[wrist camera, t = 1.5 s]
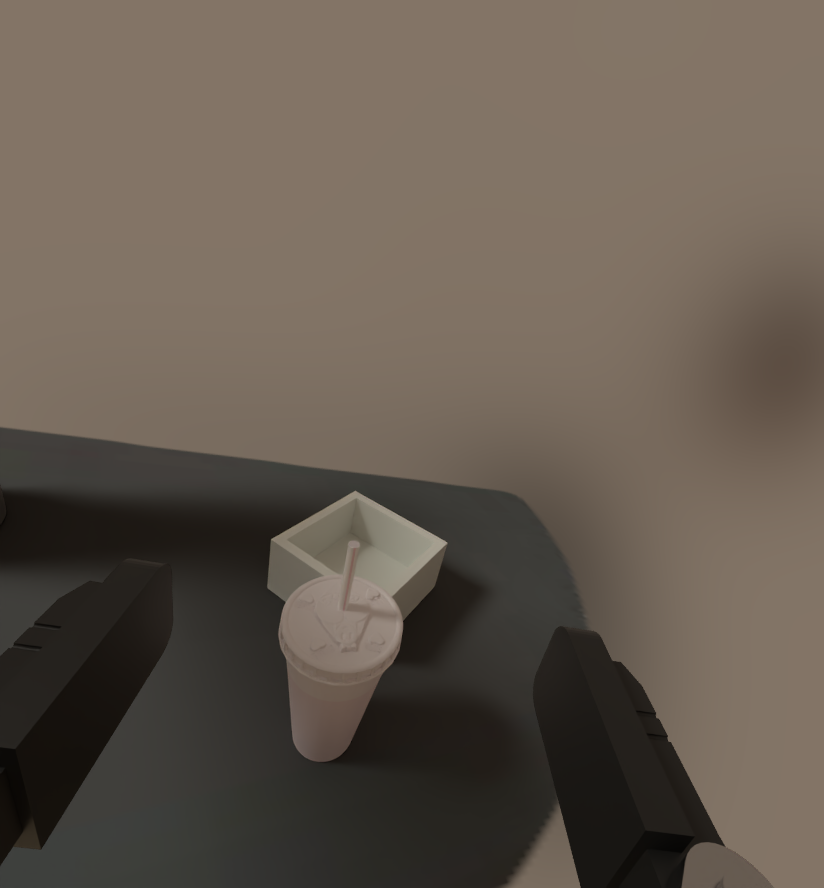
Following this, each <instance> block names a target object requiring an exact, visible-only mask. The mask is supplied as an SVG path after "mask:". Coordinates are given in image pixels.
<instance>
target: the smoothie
mask: <svg viewBox="0 0 824 888" xmlns="http://www.w3.org/2000/svg"><path fill="white" fill-rule="evenodd" d="M359 546H360V544H359V542H357V541H350V542H349V543H348V549H347V555H346V560H345V566H344V572H343V575H342V574H336V575H327V576H323V577H319V578H316V579H313V580H311V581H309V582H307V583H305V584H303V585H302V586H300V587H299V588H298V589H296V590H295V591H294V592H293V593H292V594H291V596H290V597H289V598H288V600H287V601H286V603H285V605H284V608H283V611H282V615H281V620H280V625H279V632H278V636H279V642H280V648H281V650H282V652H283V654H284V656H285V657H286V662H287V672H288V685H289V699H290V712H291V725H292V737H293V742H294V745H295V747H296V749H297V750H298V751H299V752H300V754H301V755H303V756H304V757H305V758H307V759H309V760H312V761H316V762H327V761H331V760H333V759H335V758H337V757H339V756H340V755H341V754H343V753H344V752H345V751H346V749H347V748H348V746H349V745H350V743H351V741H352V738H353V736H354V734H355V732H356V730H357V727H358V725H359V723H360V721H361V719H362V717H363V714H364V712H365V710H366V708H367V706H368V703H369V701H370V699H371V697H372V695H373V692H374V690H375V688H376V686H377V684H378V682H379V679H380V677H381V675H382V673H383V672H384V671H385V670H386V669H387V668H388V667H389V666H390V665H391V664H392V663H393V661H394V660H395V658H396V656H397V654H398V652H399V650H400V644H401V638H402V633H403V619H402V614H401V611H400V609H399V607H398V605H397V603H396V602H395V600H394V599H393V598H392V596H391V595H390V594H389V593H388V592H387V591H385V590H384V589H383V588H382V587H380V586H379V585H377V584H375V583H373V582H371V581H369V580H367V579H364V578H361V577H358V576H354V573H355V568H356V562H357V557H358V552H359Z"/></svg>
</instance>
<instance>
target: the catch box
mask: <svg viewBox="0 0 824 888" xmlns="http://www.w3.org/2000/svg"><path fill="white" fill-rule="evenodd" d="M350 541H357V542H359V544H360V546H359V552H358V557H357V562H356V568H355V573H354V576H358V577H361V578H364V579H367V580H369V581H371V582H373V583H375V584H377V585H379V586H380V587H382V588H383V589H384V590H385V591H387V592H388V593H389V594H390V595H391V596H392V598H393V599H394V600H395V602H396V603H397V605H398V607H399V609H400V611H401V614H402V619H403V620H404V619H405V618H406V617H407V616H408V615H409V614H410V613H411V612H412V611H413V609H414V608H415V607H416V606H417V605H418V604H419V603H420V602H421V601H422V600H423V599H424V598H425V596H426V595H427V594H428V593H429V592H430V591H431V590H432V589H433V588H434V587H435V584H436V580H437V577H438V574H439V570H440V567H441V563H442V560H443V557H444V553H445V550H446V546H447V542H445V541H444V540H442V539H440V538H438V537H436V536H435V535H433V534H431V533H429V532H428V531H426V530H424V529H422V528H420V527H419V526H417V525H415V524H413V523H411V522H410V521H408V520H406V519H404V518H403V517H401V516H399V515H397V514H395V513H394V512H392V511H390V510H388V509H386V508H385V507H383V506H381V505H379V504H378V503H376V502H374V501H372V500H370V499H369V498H367V497H365V496H363V495H361V494H360V493H358V492H356V491H354V492H353V493H351V494H349V495H347V496H346V497H344V498H342V499H341V500H339V501H337V502H335V503H334V504H332V505H330V506H328V507H327V508H325V509H323V510H321V511H320V512H318V513H316V514H314V515H313V516H311V517H309V518H307V519H306V520H304V521H302V522H300V523H299V524H297V525H295V526H293V527H292V528H290V529H288V530H286V531H285V532H283V533H281V534H279V535H278V536H276V537H274V538H272V539H271V546H270V559H269V572H268V585H267V588H268V589H269V590H271V591H272V592H273V593H274V594H276V595H277V596H278V597H280V598H281V599H282V600H284V601H285V602H286V601H287V600H288V598H289V597H290V596H291V594H292V593H293V592H294V591H295V590H296V589H298V588H299V587H300V586H302V585H303V584H305V583H307V582H309V581H311V580H313V579H316V578H319V577H323V576H327V575H336V574H342V575H343V572H344V566H345V560H346V555H347V549H348V543H349V542H350Z"/></svg>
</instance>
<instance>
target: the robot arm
mask: <svg viewBox="0 0 824 888" xmlns="http://www.w3.org/2000/svg"><path fill="white" fill-rule="evenodd" d="M5 517H6V506H5V501H4V497H3V493H2V489H1V485H0V524H1V523H2V522H3V520H4V518H5ZM172 626H173V599H172V571H171V567H170V565H168V564H164V563H157V562H151V561H144V560H138V559H131V558H128V559H126V560H124V561H123V562H121V563H120V564H119V565H118V566H117V568H116V569H115V570H114V571H113V572H112V573H111V574H110V575H109V576H108V577H107V578H106V579H105V580H104V582H103V583H100V582H93V581H89V582H87V583H85V584H83V585H82V586H80V587H78V588H76V589H75V590H73V591H71V592H70V593H68V594H66V595H64V596H63V597H61V598H59V599H58V600H57V601H56V602H55V603H54V604H53V605H52V606H51V607H50V608H49V609H48V610H47V611H46V612H45V613H44V614H43V615H42V616H41V617H40V618H39V619H38V620H37V621H35V622H34V626H33V627H32V628H30V627H29V628H28V629H27V630H26V631H25V632H24V633H23V634H22V635H21V636H20V637H19V638H18V639H17V640H16V641H15V642H14V645H13V647H12V648H11V649H10V648H8V649H7V650H6V651H5V652H4V653H3V654H2V655H1V656H0V865H1V864H2V862H3V861H4V859H5V858H6V856H7V855H8V853H9V852H10V850H11V849H12V847H21V848H30V849H39V850H41V849H42V847H43V846H44V844H45V842H46V841H47V839H48V838H49V836H50V834H51V833H52V831H53V830H54V828H55V826H56V825H57V823H58V822H59V820H60V818H61V817H62V815H63V813H64V812H65V810H66V809H67V807H68V805H69V804H70V802H71V801H72V799H73V797H74V796H75V794H76V793H77V791H78V789H79V788H80V786H81V784H82V783H83V781H84V780H85V778H86V776H87V775H88V773H89V772H90V770H91V768H92V767H93V765H94V764H95V762H96V760H97V759H98V757H99V755H100V754H101V752H102V751H103V749H104V747H105V746H106V744H107V743H108V741H109V739H110V738H111V736H112V735H113V733H114V731H115V730H116V728H117V726H118V725H119V723H120V722H121V720H122V718H123V717H124V715H125V714H126V712H127V710H128V709H129V707H130V706H131V704H132V702H133V701H134V699H135V697H136V696H137V694H138V693H139V691H140V689H141V688H142V686H143V685H144V683H145V681H146V680H147V678H148V677H149V675H150V673H151V672H152V670H153V669H154V667H155V665H156V664H157V662H158V660H159V659H160V657H161V656H162V654H163V652H164V650H165V648H166V646H167V644H168V641H169V638H170V635H171V631H172ZM533 699H534V707H535V711H536V715H537V719H538V723H539V727H540V731H541V734H542V738H543V742H544V746H545V750H546V754H547V758H548V762H549V766H550V769H551V773H552V777H553V781H554V785H555V789H556V793H557V797H558V801H559V804H560V808H561V812H562V816H563V820H564V824H565V828H566V832H567V835H568V839H569V843H570V847H571V851H572V855H573V859H574V863H575V867H576V871H577V875H578V878H579V882H580V886H581V888H774V887H773V886H772V885H771V884H770V883H769V881H768V880H767V879H766V878H765V877H764V876H763V875H762V874H761V873H760V872H759V871H758V870H757V869H756V868H755V867H754V866H753V865H752V864H751V863H749V862H748V861H747V860H746V859H744V858H743V857H741V856H740V855H739V854H737V853H736V852H734V851H732V850H730V849H728V848H726V847H725V845H724V844H723V842H722V840H721V838H720V837H719V835H718V833H717V831H716V829H715V827H714V825H713V823H712V821H711V819H710V817H709V815H708V814H707V812H706V810H705V808H704V806H703V804H702V802H701V800H700V798H699V796H698V794H697V792H696V790H695V788H694V786H693V785H692V782H691V780H690V778H689V777H688V775H687V773H686V771H685V769H684V767H683V765H682V763H681V761H680V759H679V757H678V755H677V753H676V751H675V749H674V747H673V745H672V743H671V742H668V739H667V737H668V736H667V734H666V732H665V730H664V728H663V726H662V724H661V722H660V720H659V719H657V718H656V712H655V710H654V708H653V707H652V704H651V702H650V701H649V699H648V697H647V695H646V693H645V691H644V689H643V687H642V686H641V684H640V683H639V682H638V681H637V680H636V679H635V678H634V677H633V675H632V674H631V673H630V672H629V671H628V670H627V669H626V667H625V666H624V665H623V664H622V663H621V662H616V661H612V660H611V657H610V655H609V653H608V651H607V649H606V647H605V645H604V643H603V640H602V639H601V637H600V635H599V634H598V633H597V632H594V631H589V630H582V629H576V628H569V627H563V626H560V627H558V628H557V629H556V630H555V632H554V634H553V636H552V638H551V641H550V643H549V645H548V648H547V650H546V652H545V654H544V657H543V659H542V661H541V664H540V666H539V668H538V671H537V673H536V676H535V680H534V687H533Z"/></svg>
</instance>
